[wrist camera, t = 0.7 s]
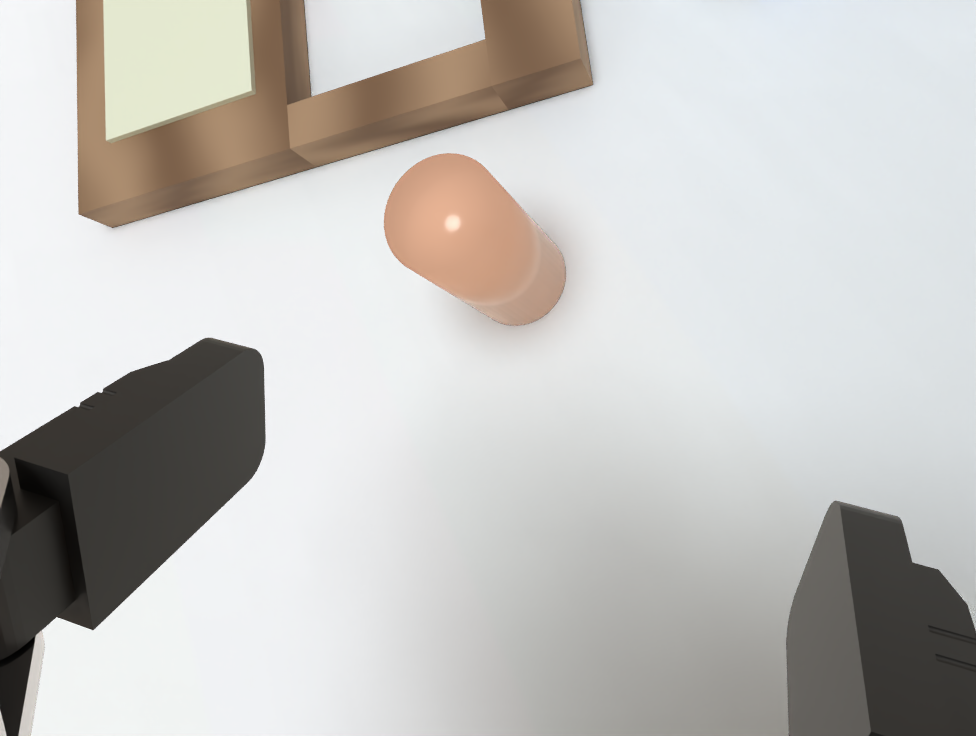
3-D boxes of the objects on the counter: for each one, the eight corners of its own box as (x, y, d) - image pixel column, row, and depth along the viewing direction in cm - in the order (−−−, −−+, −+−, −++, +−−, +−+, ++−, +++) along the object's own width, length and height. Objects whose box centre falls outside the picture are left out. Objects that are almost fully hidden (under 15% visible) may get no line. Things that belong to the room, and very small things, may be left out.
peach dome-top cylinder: (558, 220, 31) (492, 138, 24) (572, 314, 30) (507, 259, 23) (467, 242, 32) (379, 171, 25) (478, 333, 31) (389, 286, 24)
